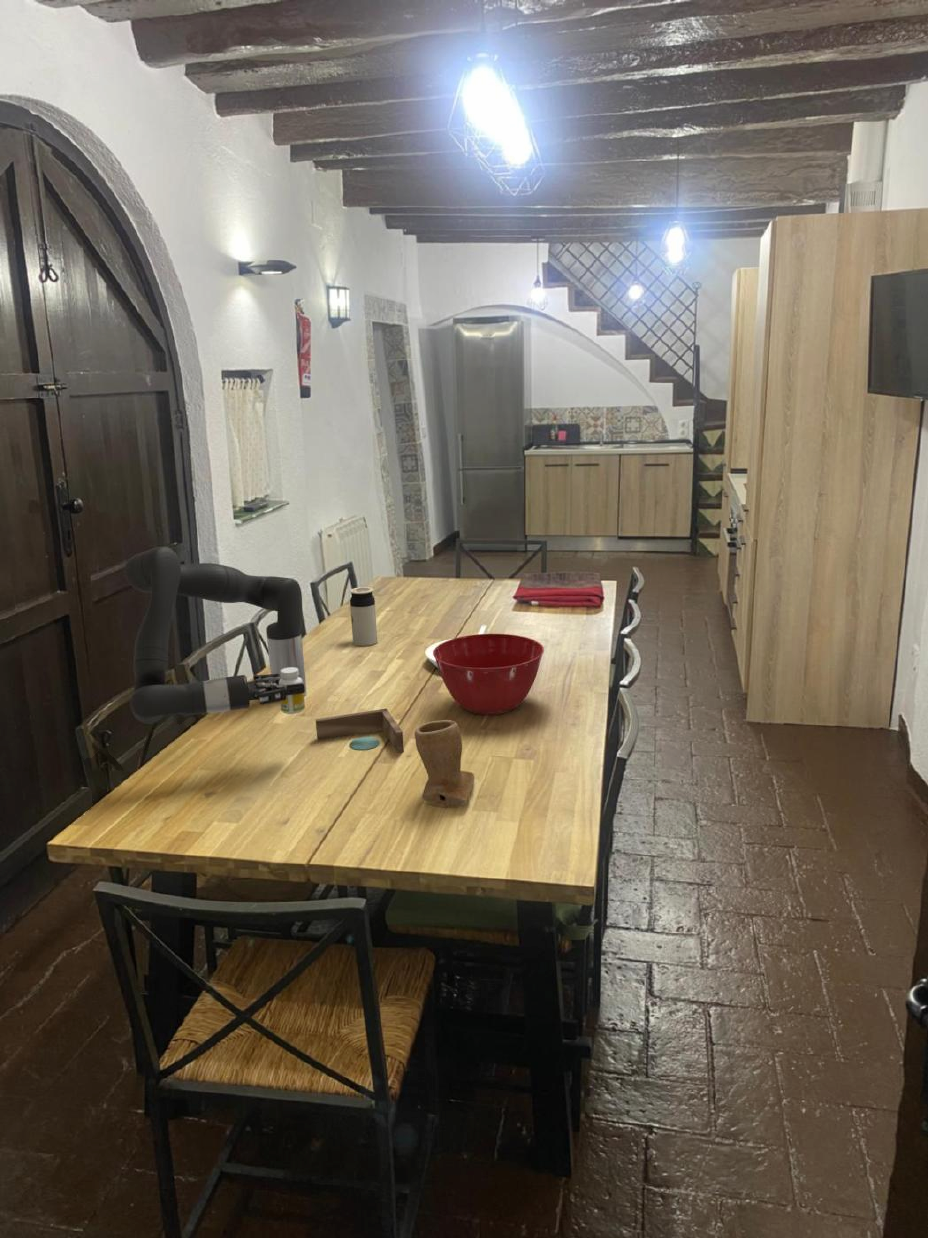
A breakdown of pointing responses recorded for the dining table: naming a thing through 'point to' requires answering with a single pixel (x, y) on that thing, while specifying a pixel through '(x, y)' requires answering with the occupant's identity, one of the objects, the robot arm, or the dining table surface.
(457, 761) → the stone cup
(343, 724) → the corner arena
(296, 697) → the supplement bottle
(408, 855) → the dining table surface
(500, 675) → the mixing bowl
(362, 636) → the travel mug
